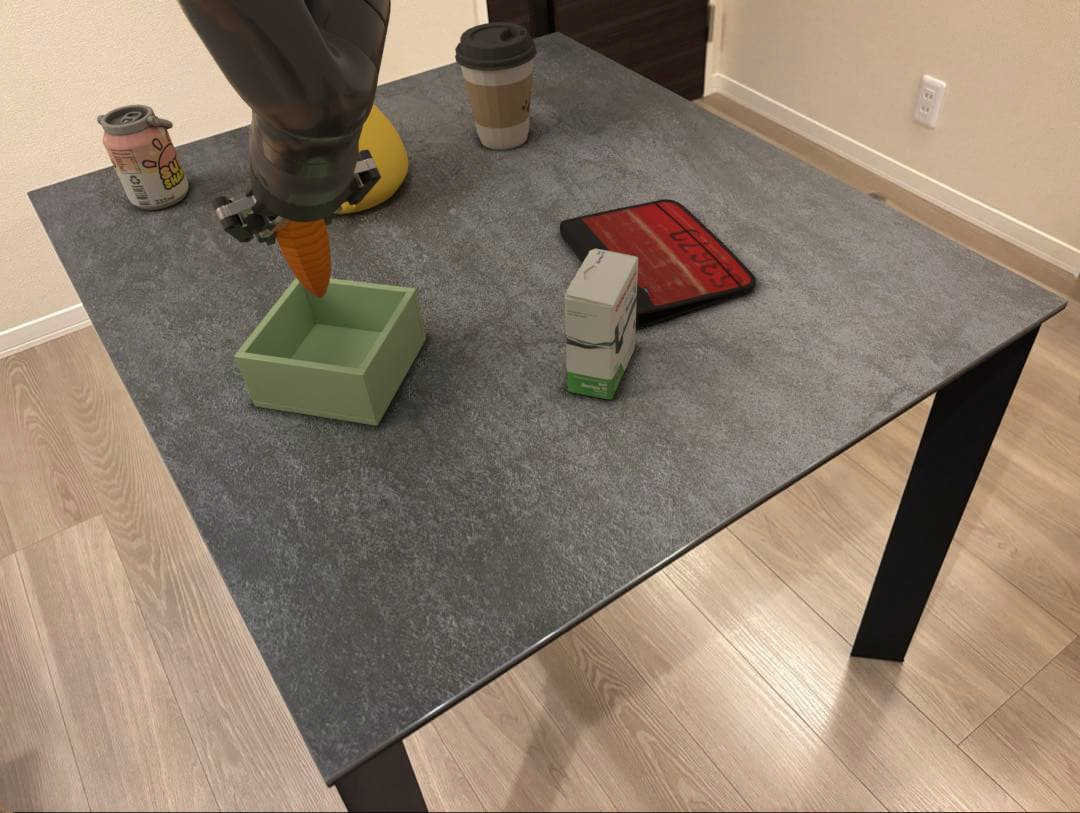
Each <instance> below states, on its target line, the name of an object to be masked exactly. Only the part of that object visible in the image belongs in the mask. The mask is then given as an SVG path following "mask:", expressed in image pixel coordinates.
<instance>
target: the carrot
mask: <svg viewBox="0 0 1080 813" xmlns="http://www.w3.org/2000/svg"><path fill="white" fill-rule="evenodd" d="M327 229H328V228H327V226H326V224H325V220H324V219H321V220H318V221H314V222H296V221H291V222H290V223H289V224H288V226H287V227H286V228H285V229H282V230H277V231H275V232H276V241H277V244H278V246H279V250H280V251H281V254H282V256H283V258H284V259H285V261H286V263H287V265H288V267H289V269H290V270H291V272H292V273H293V275H294V276H295V278H297V279H298V280H299V282H300V283H301V284H302V285H303V286H304V287H305V288H306V289H307V290H308V291H309V292H311V293H312V294H313V295H314V296H316V297H319V298H322V297H323V296H324V295H325V294H326V292H327V288H328V285H329V281H330V278H331V274H332V254H331V245H330V238H329V234H328V230H327Z"/></svg>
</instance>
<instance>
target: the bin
mask: <svg viewBox="0 0 1080 813" xmlns="http://www.w3.org/2000/svg"><path fill="white" fill-rule="evenodd" d="M422 315H423V314H422V312H421V305H420V300H419V295H418V292H417V288H416V287H408V286H407V287H406V286H398V285H391V284H383V283H375V282H374V283H373V282H365V281H356V280H350V279H349V280H348V279H339V278H332V277H330V281H329V285H328V288H327V292H326V294H325V295H324V296H323V297H322V298H319V297H316V296H314V295H313V294H312V293H311V292H309V291H308V290H307V289H306V288H305V287H304V286H303V285H302V284H301V283H300V282H299V280H298V279H297V278H296V277H295V278H294V279H293V281H292V282H291V283H290V284H289V286H288V287H286V290H285V291H283V293H282V295H281V296H280V297H279V298H278V300H277V301H276V302H275V303H274V305H273V306H272V307H271V308H270V309H269V311H268V312H267V313H266V314H265V316H264V317H263V319H262V320H261V321H260V322H259V323H258V324H257V326H256V327H255V329H254V330H253V331H252V332H251V334H250V335H249V336H248V337H247V339H246V340H245V341H244V343H243V344H242V345H241V346H240V348H239V349H238V350H237V351H236V353H235V354H234V355H233V358H234V360H235V362H236V363H235V364H236V366H237V367H238V370H239V373H240V374H241V377H242V379H243V381H244V384H245V387H246V388H247V391H248V393H249V396H250V398H251V401H252V403H253V405H254V407H257V408H263V409H269V410H276V411H280V412H281V411H282V412H287V413H294V414H301V415H307V416H314V417H319V418H324V419H325V418H326V419H332V420H337V421H343V422H344V421H345V422H351V423H357V424H363V425H369V426H375V427H376V426H379V424H380V422H381V420H382V419H383V416H384V415H385V413H386V411H387V410H388V408H389V406H390V404H391V403H392V401H393V399H394V397H395V396H396V393H397V392H398V390H399V388H400V387H401V384H402V383H403V381H404V379H405V377H406V376H407V374H408V372H409V371H410V369H411V367H412V365H413V363H414V361H415V359H416V358H417V356H418V354H419V352H420V350H421V349H422V347H423V345H424V344H425V342H426V340H427V336H426V330H425V326H424V321H423V316H422Z"/></svg>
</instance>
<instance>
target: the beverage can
mask: <svg viewBox="0 0 1080 813" xmlns="http://www.w3.org/2000/svg"><path fill="white" fill-rule="evenodd" d="M96 121H97V123H98V124H99V125H100V126H101V128H102V129H103V136H102V144H103V146H104V149H105V152H106V153H107V156H108V157H109V160H110V161H111V164H112V166H113V168H114V170H115V172H116V175H117V177H118V179H119V182H120V184H121V186H122V188H123V190H124V193H125V195H126V196H127V199H128V200H129V202H130V203H131V204H132V205H133V206H134V207H137V208H140V209H141V210H145V211H157V210H163V209H166V208H169V207H172V206H174V205H176V204H178V203H180V202H181V201H182V200H183V199H185V197H186V196H187V193H188V192H189V181H188V180H187V179H188V178H187V177H186V176H187V175H186V173H185V171H184V169H183V167H182V166H183V165H182V163H181V161H180V158H179V156H178V153H177V151H176V148H175V146H174V143H173V141H172V138H171V136H170V133H169V131H168V130H170V129H173V127H174V124H173V122H172V121H170V120H168V119H165V118H160V117H158V116H157V115H156V114H155V112H154V109H153V108H152V107H151V106H149V105H146V104H129V105H124V106H120V107H117V108H114V109H112V110H110V111H108V112H107V113H105V114H99V115H97V117H96Z"/></svg>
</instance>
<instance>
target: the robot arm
mask: <svg viewBox="0 0 1080 813" xmlns="http://www.w3.org/2000/svg"><path fill="white" fill-rule="evenodd" d="M175 1H176V2H177V5H178V6H179V8H180V10H181V12H182V13H183V15H184V17H185V18H186V20H187V22H188V23H189V25H190V26H191V28H192V29H193V31H194V32H195V34H196V35H197V37H198V38H199V39H200V41H201V42H202V44H203V45H204V47H205V48H206V50H207V51H208V53H209V55H210V56H211V58H212V59H213V61H214V62H215V64H216V66H217V67H218V68H219V70H220V71H221V73H222V74H223V76H224V78H225V80H227V82H228V83H229V84H230V86H231V87H232V89H233V90H234V91H235V92H236V94H237V95H238V96H239V97H240V98H241V100H242V101H243V102H244V103H245V104H246V105H247V106H248V107H249V108H250V109H251V121H250V125H249V132H248V155H249V157H248V158H249V177H250V178H249V179H250V185H249V186H248V187H247V188H246V190H245V193H244V195H245V196H244V197H243V198H240V199H238V200H237V199H236V197H231V198H228V197H227V196H225V195H224V196H217V197H215V198H214V199H212V201H211V204H212V206H213V209H214V211H215V214H216V215H217V218H218V219H219V222H220V224H221V226H222V228H223V230H224V232H226V233H227V234H228V235H230V236H231V237H232V238H234V239H235V240H237V241H238V242H239V243H241V244H243V243H249V242H251V241H253V239H254V238H256V240H257V242H258V243H259V244H264V243H265V244H266V246H267V247H269V246H272V245H275V244H276V241H277V239H276V232H275V231H277V230H282V229H285V228H286V227H287V226H288V224H289V223H290V222H291V221H296V222H314V221H318V220H321V219H324V220H325V224H326V227H327V226H329V225H331V224H332V222H333V219H335V218H336V217H337V216H338V215H339V214H338V213H339V212H340V211H341V210H342V209H343V208H342V206H341V205H342V204H344V203H346V202H349V205H356V204H358V203H359V202H361V201H362V200H363V198H364V197H365V196H366V195H367V194H368V192H369V191H370V190H371V189H372V188H373V187H374V185H375V184H376V183H377V182H378V181H379V179H380V178H381V175H380V173H379V171H378V169H377V166H376V164H375V162H374V160H373V158H372V155H371V153H370V151H369V150H362V151H360V152H359V139H360V136H361V132H362V129H363V124H364V123H365V122H366V120H367V118H368V117H369V114H370V112H371V109H372V107H373V104H375V99H376V94H377V88H378V85H379V84H378V83H379V76H380V71H381V66H382V61H383V57H384V56H383V55H384V50H385V45H386V41H387V35H388V30H389V24H390V17H391V12H392V11H391V10H392V9H391V8H392V0H175ZM254 236H255V237H254ZM0 813H14V812H13V811H12V810H11V809H10V808H8V807H6V806H5V805H3V803H1V802H0Z"/></svg>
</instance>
